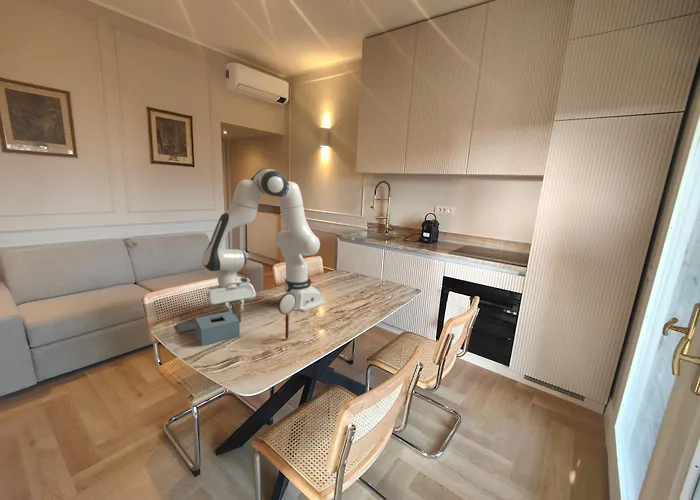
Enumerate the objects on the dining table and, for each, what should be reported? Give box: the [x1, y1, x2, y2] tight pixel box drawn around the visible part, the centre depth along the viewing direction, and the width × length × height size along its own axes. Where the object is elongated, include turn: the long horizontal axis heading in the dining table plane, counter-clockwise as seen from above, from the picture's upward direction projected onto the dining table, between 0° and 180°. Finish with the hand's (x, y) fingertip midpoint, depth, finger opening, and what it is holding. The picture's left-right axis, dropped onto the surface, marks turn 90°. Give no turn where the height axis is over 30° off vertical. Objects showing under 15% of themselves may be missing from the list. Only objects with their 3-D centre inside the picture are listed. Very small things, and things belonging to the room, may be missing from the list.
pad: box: [175, 319, 196, 335], centre depth 126 cm, size 9×9×1 cm
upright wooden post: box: [231, 301, 242, 323], centre depth 132 cm, size 3×3×9 cm
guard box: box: [194, 310, 241, 347], centre depth 120 cm, size 14×11×7 cm
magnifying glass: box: [277, 293, 296, 341], centre depth 118 cm, size 9×2×20 cm, turn 142°
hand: (236, 311), depth 132 cm, fingers closed on upright wooden post, 3 cm apart
